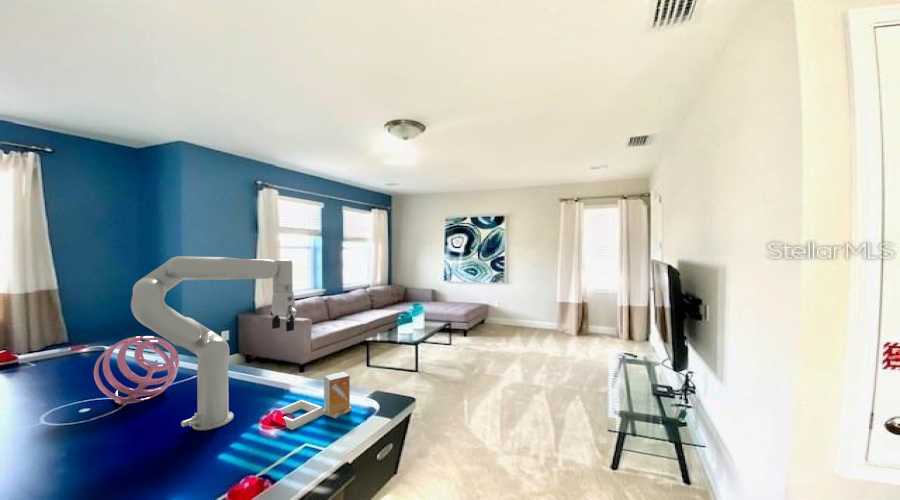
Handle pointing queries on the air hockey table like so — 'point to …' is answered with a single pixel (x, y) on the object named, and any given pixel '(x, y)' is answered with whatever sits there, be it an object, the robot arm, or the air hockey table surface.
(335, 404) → the small box
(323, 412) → the board
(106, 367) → the spiral basket
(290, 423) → the tray
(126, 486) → the air hockey table surface
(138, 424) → the air hockey table surface
